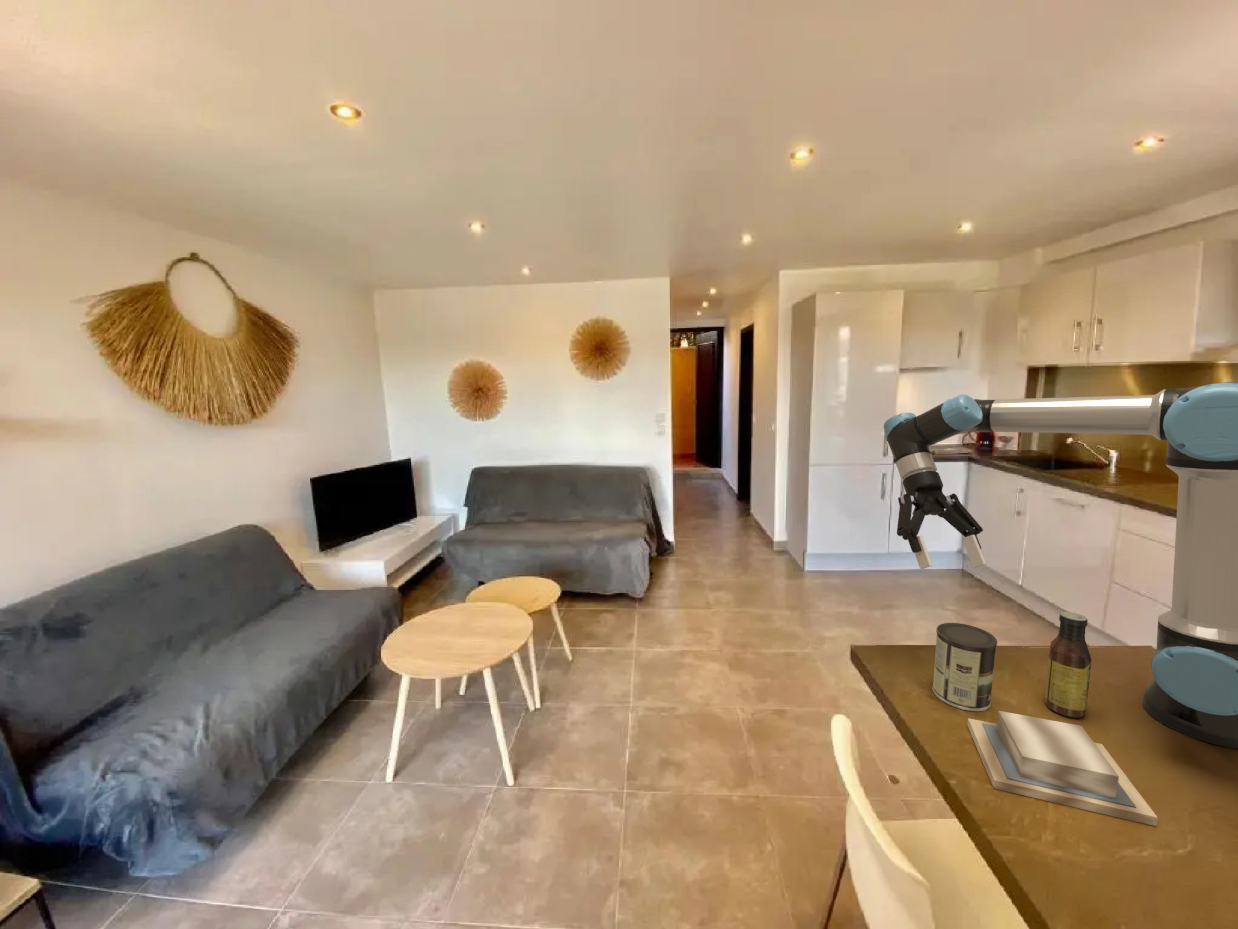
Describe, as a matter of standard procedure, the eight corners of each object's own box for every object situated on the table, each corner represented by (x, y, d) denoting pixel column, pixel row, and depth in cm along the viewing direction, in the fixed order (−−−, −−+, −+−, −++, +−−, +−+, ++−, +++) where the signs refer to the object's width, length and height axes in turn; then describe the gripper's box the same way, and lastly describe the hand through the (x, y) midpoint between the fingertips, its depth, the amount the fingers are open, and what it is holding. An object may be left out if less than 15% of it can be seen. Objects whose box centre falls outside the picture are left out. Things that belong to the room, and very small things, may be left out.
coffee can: (973, 683, 108) (979, 623, 106) (1001, 714, 98) (1009, 648, 96) (922, 679, 110) (927, 621, 108) (945, 710, 100) (951, 645, 98)
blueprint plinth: (1100, 751, 88) (1104, 723, 87) (1156, 826, 73) (1161, 794, 72) (967, 725, 95) (969, 699, 95) (993, 788, 81) (996, 758, 80)
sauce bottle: (1093, 721, 96) (1107, 626, 92) (1056, 718, 97) (1068, 623, 93) (1070, 700, 102) (1082, 610, 99) (1035, 697, 103) (1046, 608, 100)
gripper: (951, 483, 120) (986, 569, 111) (862, 482, 115) (891, 572, 106) (977, 469, 113) (1016, 560, 104) (883, 468, 108) (916, 563, 99)
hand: (953, 566), depth 105 cm, fingers open, 13 cm apart
